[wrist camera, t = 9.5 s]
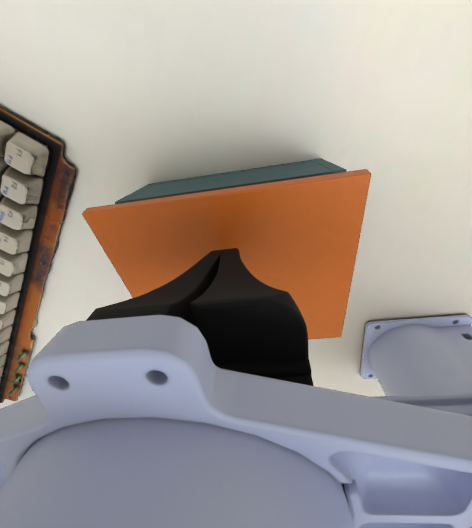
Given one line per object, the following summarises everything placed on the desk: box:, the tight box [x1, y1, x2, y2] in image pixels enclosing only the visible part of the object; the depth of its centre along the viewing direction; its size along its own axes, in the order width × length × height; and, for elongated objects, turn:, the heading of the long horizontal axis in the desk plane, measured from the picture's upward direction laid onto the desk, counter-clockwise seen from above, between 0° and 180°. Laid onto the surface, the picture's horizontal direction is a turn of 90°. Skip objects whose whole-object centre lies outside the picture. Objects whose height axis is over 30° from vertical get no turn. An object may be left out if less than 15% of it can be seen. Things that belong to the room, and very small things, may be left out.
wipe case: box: [115, 159, 347, 204], centre depth 20 cm, size 11×13×6 cm
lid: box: [82, 169, 371, 339], centre depth 16 cm, size 12×13×1 cm
